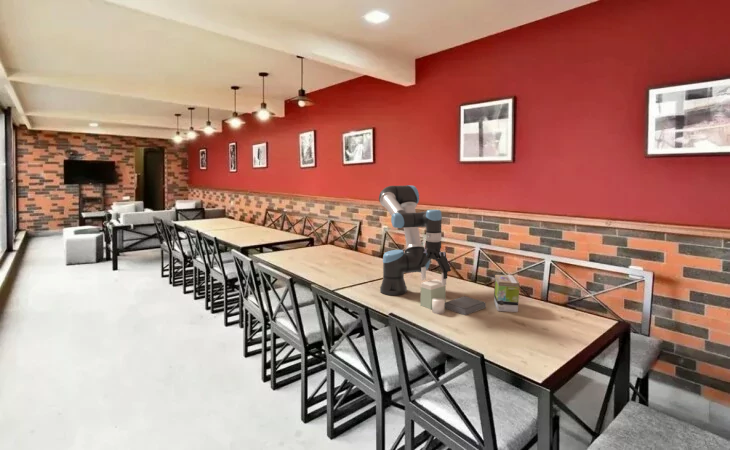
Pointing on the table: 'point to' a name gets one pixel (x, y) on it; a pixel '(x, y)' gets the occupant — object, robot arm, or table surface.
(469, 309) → the podium
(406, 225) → the robot arm
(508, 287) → the tea box
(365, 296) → the table surface
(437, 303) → the cream rounded domed part
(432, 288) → the carton
